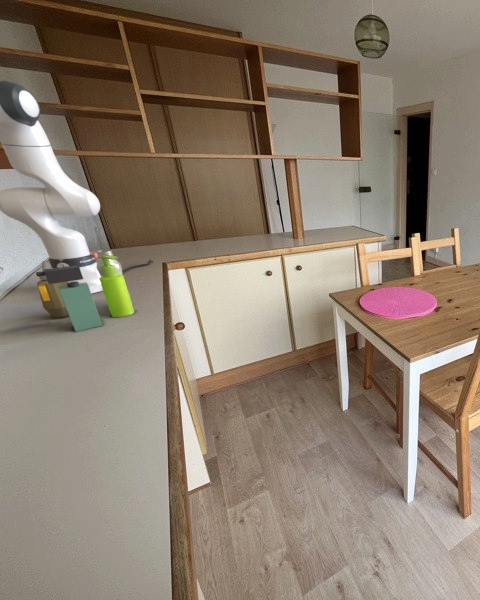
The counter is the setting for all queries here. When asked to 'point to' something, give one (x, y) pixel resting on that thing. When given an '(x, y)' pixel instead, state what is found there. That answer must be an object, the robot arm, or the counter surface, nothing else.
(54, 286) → the squeeze bottle
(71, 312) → the spray bottle
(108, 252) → the plastic bottle
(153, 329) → the counter surface
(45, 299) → the block
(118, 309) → the soap dispenser
